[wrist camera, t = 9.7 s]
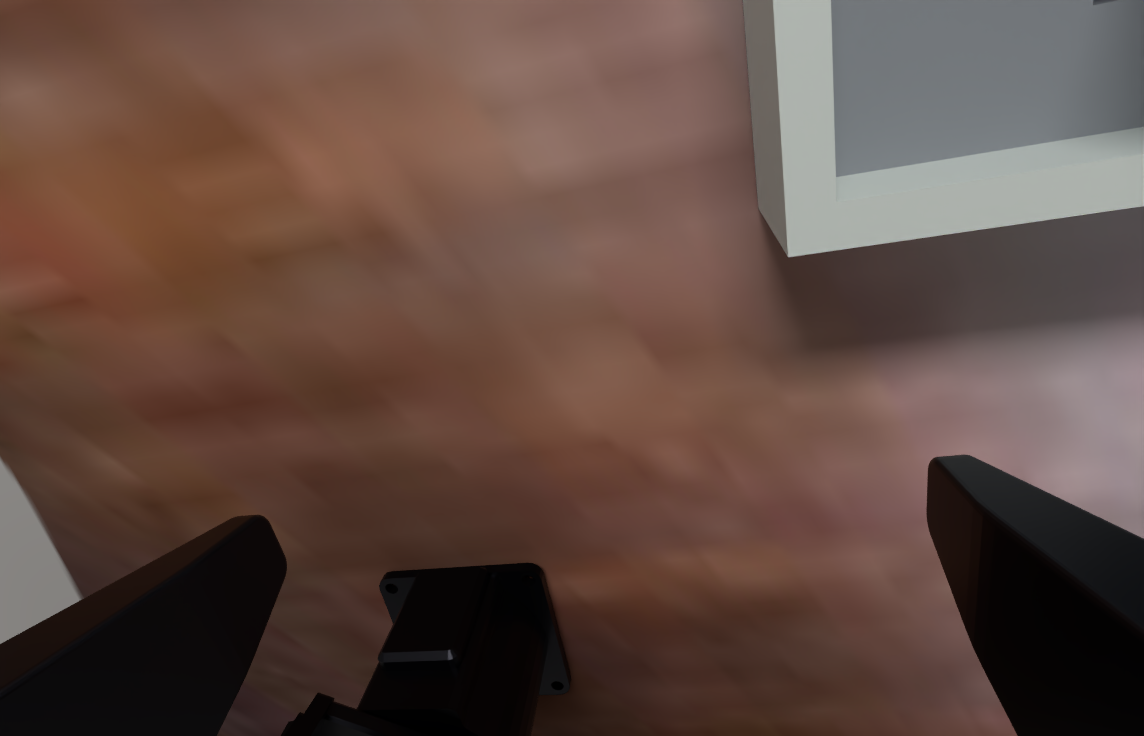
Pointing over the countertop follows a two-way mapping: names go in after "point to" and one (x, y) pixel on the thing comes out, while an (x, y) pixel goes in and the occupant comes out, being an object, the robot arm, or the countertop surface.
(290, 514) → the countertop surface
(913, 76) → the box
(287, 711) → the countertop surface
